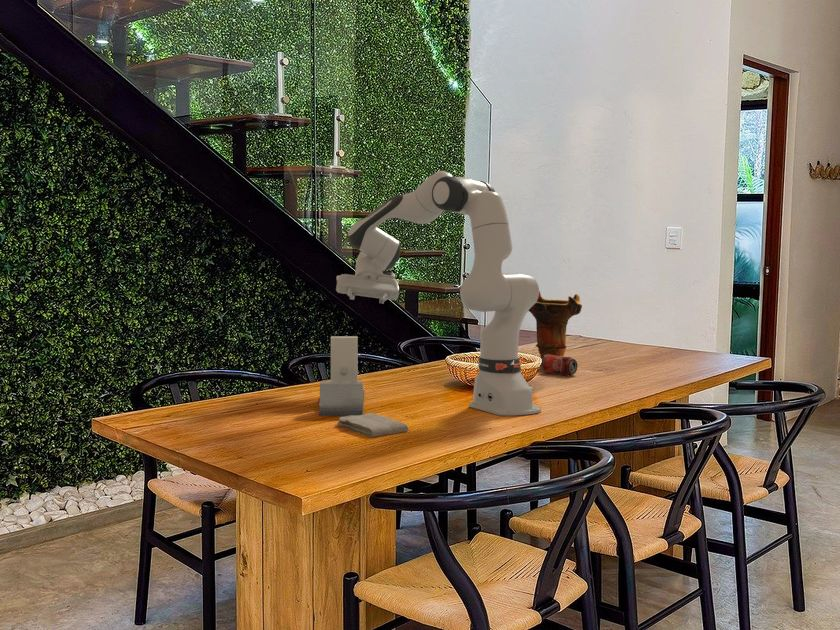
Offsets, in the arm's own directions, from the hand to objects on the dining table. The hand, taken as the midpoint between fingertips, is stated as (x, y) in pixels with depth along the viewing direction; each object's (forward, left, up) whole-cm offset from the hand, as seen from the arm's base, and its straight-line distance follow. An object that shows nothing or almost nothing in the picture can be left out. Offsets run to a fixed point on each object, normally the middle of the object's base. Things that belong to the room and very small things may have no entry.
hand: (367, 299), depth 281 cm
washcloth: (-50, +16, -30) cm, 60 cm away
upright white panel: (-10, +12, -27) cm, 32 cm away
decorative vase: (+35, -89, -30) cm, 100 cm away
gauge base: (-19, +14, -29) cm, 37 cm away
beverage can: (+7, -76, -30) cm, 82 cm away
